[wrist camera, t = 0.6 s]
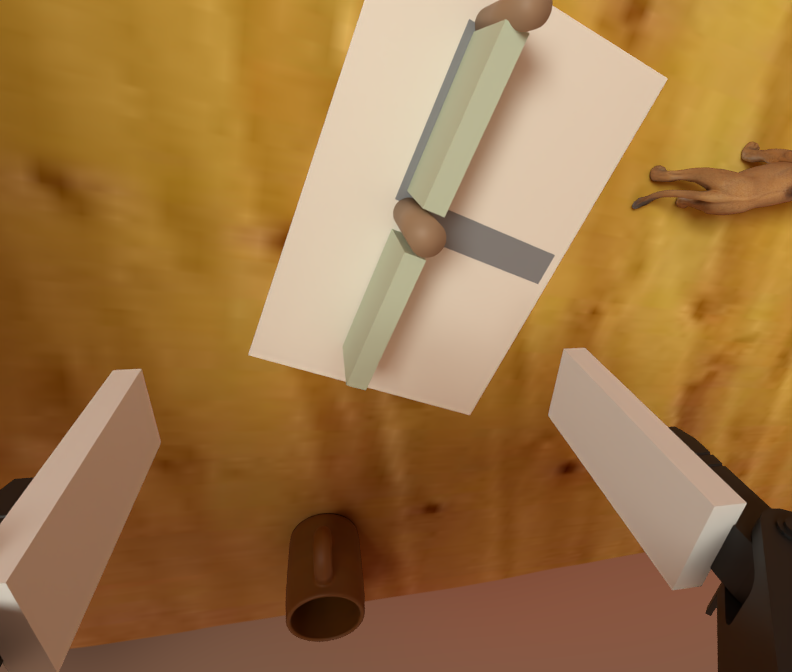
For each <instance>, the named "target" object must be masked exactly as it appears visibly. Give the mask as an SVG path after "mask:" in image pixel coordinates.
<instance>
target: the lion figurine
mask: <svg viewBox="0 0 792 672" xmlns="http://www.w3.org/2000/svg"><path fill="white" fill-rule="evenodd" d="M759 149H760V147H759V146H758V144H757V143H754V142H749V143H748V144H747V145H746V146H745V147H744V149H743V150H742V159H743V160H745V161H747V162H766V163H768V164H765V165H761V166H756V167H753V168H749V169H746V170H744V171H741V172H739V173H736V172H733V171H729V170H725V169H715V168H691V169H685V170H678V171H667V170H666V169H665V167H662V166H655V167H654V168H652V170H651V172H650V178H651V179H652V180H653V181H663V182H673V181H677V180H686V181H690V182H695V183H697V184H699V185H701V186H702V187H704V188H705V189H706V190H707V191H689V190H665V191H659V192H656V193H653V194H651V195H648V196H645V197H641V198H638V200H637V201H635V202H634V203H633V205H632V207H633V208H634V209H637V208H639V207H641V206H643V205H647V204H648V203H650V202H651V201H653V200H655V199H658V198H661V197H678V198H677V200H676V205H677V206H678V207H680V208H686V207H687V206H690V207H693V208H696V209H698V210H702V211H703V212H705V213H707V214H715V215H729V214H735V213H742V212H745V211H748V210H750V209H753V208H758V207H766V206H771V205H775V204H780V203H785V202H789V201H792V151H791V150H786V149H768V150H759Z"/></svg>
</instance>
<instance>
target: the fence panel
mask: <svg viewBox="0 0 792 672" xmlns="http://www.w3.org/2000/svg"><path fill="white" fill-rule="evenodd" d="M425 262H426V259H425V258H424V257H420V256H418V255H416V254H415V253H414V252H413V251H412V249H411V247H410V246H409V244H408V242H407V241H406V239H405V237H404V236H403V234H402V232H399V231H397V230H394V229H392V230H391V232H390V234H389V237H388V239H387V242H386V244H385V246H384V249H383V251H382V253H381V256H380V258H379V261H378V263H377V265H376V268H375V270H374V272H373V275H372V277H371V280H370V282H369V284H368V287H367V289H366V292H365V294H364V296H363V299H362V301H361V303H360V306H359V308H358V311H357V313H356V315H355V318H354V320H353V322H352V325H351V327H350V330H349V332H348V334H347V337H346V339H345V342H344V344H343V346H342V347H343V357H344V368H345V378H346V385H348V386H351V387H355V388H359V389H362V390H366V389H367V387H368V385H369V383H370V381H371V379H372V376H373V374H374V372H375V370H376V368H377V366H378V363H379V361H380V359H381V357H382V355H383V353H384V351H385V348H386V346H387V344H388V342H389V340H390V338H391V335H392V333H393V331H394V329H395V327H396V325H397V322H398V320H399V318H400V316H401V314H402V312H403V310H404V307H405V305H406V303H407V301H408V299H409V297H410V294H411V292H412V290H413V288H414V286H415V284H416V282H417V279H418V277H419V275H420V273H421V271H422V269H423V266H424V264H425Z"/></svg>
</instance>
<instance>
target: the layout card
mask: <svg viewBox="0 0 792 672" xmlns="http://www.w3.org/2000/svg"><path fill="white" fill-rule="evenodd" d="M497 1H499V0H365V1H364V4H363V7H362V10H361V13H360V16H359V19H358V22H357V25H356V28H355V31H354V34H353V37H352V40H351V43H350V46H349V49H348V52H347V55H346V59H345V62H344V65H343V68H342V71H341V74H340V77H339V80H338V83H337V86H336V89H335V92H334V95H333V98H332V101H331V104H330V107H329V110H328V113H327V116H326V119H325V123H324V126H323V129H322V132H321V135H320V138H319V141H318V144H317V147H316V150H315V153H314V156H313V159H312V162H311V165H310V168H309V171H308V174H307V177H306V180H305V183H304V186H303V190H302V193H301V196H300V199H299V202H298V205H297V208H296V211H295V214H294V217H293V220H292V223H291V226H290V229H289V232H288V235H287V238H286V241H285V244H284V247H283V250H282V253H281V257H280V260H279V263H278V266H277V269H276V272H275V275H274V278H273V281H272V284H271V287H270V290H269V293H268V296H267V299H266V302H265V305H264V308H263V311H262V314H261V317H260V320H259V324H258V327H257V330H256V333H255V336H254V339H253V342H252V345H251V348H250V351H249V354H248V355H250V356H253V357H257V358H261V359H264V360H268V361H272V362H275V363H279V364H283V365H286V366H290V367H294V368H297V369H301V370H305V371H309V372H312V373H316V374H320V375H323V376H327V377H331V378H334V379H338V380H342V381H345V382H346V378H345V368H344V357H343V347H342V346H343V344H344V342H345V339H346V337H347V334H348V332H349V330H350V327H351V325H352V322H353V320H354V318H355V315H356V313H357V311H358V308H359V306H360V303H361V301H362V299H363V296H364V294H365V292H366V289H367V287H368V284H369V282H370V280H371V277H372V275H373V272H374V270H375V268H376V265H377V263H378V261H379V258H380V256H381V253H382V251H383V249H384V246H385V244H386V242H387V239H388V237H389V234H390V232H391V230H392V229H394V230H397V231H399V232H401V231H400V229H399V227H398V226H397V224H396V222H395V220H394V218H393V210H394V207H395V205H396V204H397V202H399V201H400V200H402V199H404V198H408V197H410V198H413V197H412V196H411V195H410V194H409V192H408V191H407V190H408V187H409V185H410V182H411V180H412V178H413V175H414V173H415V170H416V168H417V166H418V163H419V161H420V159H421V156H422V154H423V151H424V149H425V147H426V144H427V142H428V139H429V137H430V135H431V132H432V130H433V128H434V125H435V123H436V120H437V118H438V116H439V113H440V111H441V108H442V106H443V104H444V101H445V99H446V97H447V94H448V92H449V89H450V87H451V85H452V82H453V80H454V77H455V75H456V73H457V70H458V68H459V66H460V63H461V61H462V58H463V56H464V54H465V51H466V49H467V46H468V44H469V42H470V39H471V37H472V35H473V32H474V31H475V20H476V17H477V15H478V13H479V12H480V11H481V10H482V9H483V8H485V7H487V6H489V5H491V4H493V3H495V2H497ZM528 33H530V34H529V36H528V38H527V40H526V43H525V45H524V47H523V49H522V51H521V53H520V56H519V58H518V60H517V62H516V64H515V66H514V68H513V71H512V73H511V75H510V77H509V79H508V81H507V84H506V86H505V88H504V90H503V92H502V94H501V97H500V99H499V101H498V103H497V105H496V107H495V110H494V112H493V114H492V116H491V118H490V120H489V123H488V125H487V127H486V129H485V131H484V133H483V136H482V138H481V140H480V142H479V144H478V146H477V148H476V151H475V153H474V155H473V157H472V159H471V161H470V164H469V166H468V168H467V170H466V172H465V174H464V177H463V179H462V181H461V183H460V185H459V187H458V190H457V192H456V194H455V196H454V198H453V200H452V203H451V205H450V207H449V209H448V211H447V213H446V216H445V217H442V216H440V215H438V214H435V213H433V212H430V211H429V213H430V214H431V215H432V216H433V217H434V218H435V219H436V220H437V221H438V222H439V223H440V224H441V226H442V227H443V228H444V230H445V232H446V243H445V246H444V248H443V249H442V251H441V252H440V253H438V254H437V255H435V256H433V257H429V258H425V259H426V262H425V264H424V266H423V269H422V271H421V273H420V275H419V277H418V279H417V282H416V284H415V286H414V288H413V290H412V292H411V294H410V297H409V299H408V301H407V303H406V305H405V307H404V310H403V312H402V314H401V316H400V318H399V320H398V322H397V325H396V327H395V329H394V331H393V333H392V335H391V338H390V340H389V342H388V344H387V346H386V348H385V351H384V353H383V355H382V357H381V359H380V361H379V363H378V366H377V368H376V370H375V372H374V374H373V376H372V379H371V381H370V383H369V385H368V388H371V389H375V390H379V391H382V392H386V393H390V394H393V395H397V396H401V397H404V398H408V399H412V400H415V401H419V402H423V403H426V404H430V405H434V406H438V407H441V408H445V409H449V410H452V411H456V412H460V413H463V414H467V415H470V414H471V412H472V411H473V409H474V407H475V406H476V404H477V402H478V401H479V399H480V397H481V395H482V394H483V392H484V390H485V389H486V387H487V385H488V384H489V382H490V380H491V378H492V377H493V375H494V373H495V372H496V370H497V368H498V367H499V365H500V363H501V361H502V360H503V358H504V356H505V355H506V353H507V351H508V350H509V348H510V346H511V344H512V343H513V341H514V339H515V338H516V336H517V334H518V333H519V331H520V329H521V327H522V326H523V324H524V322H525V321H526V319H527V317H528V316H529V314H530V312H531V310H532V309H533V307H534V305H535V304H536V302H537V300H538V299H539V297H540V295H541V293H542V292H543V290H544V288H545V287H546V285H547V283H548V282H549V280H550V278H551V276H552V275H553V273H554V271H555V270H556V268H557V266H558V265H559V263H560V261H561V259H562V258H563V256H564V254H565V253H566V251H567V249H568V248H569V246H570V244H571V242H572V241H573V239H574V237H575V236H576V234H577V232H578V231H579V229H580V227H581V225H582V224H583V222H584V220H585V219H586V217H587V215H588V214H589V212H590V210H591V208H592V207H593V205H594V203H595V202H596V200H597V198H598V197H599V195H600V193H601V191H602V190H603V188H604V186H605V185H606V183H607V181H608V180H609V178H610V176H611V174H612V173H613V171H614V169H615V168H616V166H617V164H618V163H619V161H620V159H621V157H622V156H623V154H624V152H625V151H626V149H627V147H628V146H629V144H630V142H631V140H632V139H633V137H634V135H635V134H636V132H637V130H638V129H639V127H640V125H641V123H642V122H643V120H644V118H645V117H646V115H647V113H648V112H649V110H650V108H651V106H652V105H653V103H654V101H655V100H656V98H657V96H658V95H659V93H660V91H661V89H662V88H663V86H664V84H665V83H666V81H667V79H668V78H666V77H664V76H663V75H661V74H660V73H658V72H657V71H655V70H653V69H652V68H650V67H649V66H647V65H645V64H644V63H642V62H641V61H639V60H638V59H636V58H634V57H633V56H631V55H630V54H628V53H626V52H625V51H623V50H622V49H620V48H619V47H617V46H615V45H614V44H612V43H611V42H609V41H608V40H606V39H604V38H603V37H601V36H600V35H598V34H596V33H595V32H593V31H592V30H590V29H589V28H587V27H585V26H584V25H582V24H581V23H579V22H577V21H576V20H574V19H573V18H571V17H570V16H568V15H566V14H565V13H563V12H562V11H560V10H559V9H557V8H555V7H554V6H552V11H551V14H550V16H549V18H548V20H547V21H546V23H545V24H544V25H543V26H541V27H540V28H538V29H535V30H531V31H528Z"/></svg>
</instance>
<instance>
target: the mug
mask: <svg viewBox="0 0 792 672" xmlns="http://www.w3.org/2000/svg"><path fill="white" fill-rule="evenodd" d="M364 597H365V596H364V584H363V573H362V563H361V554H360V543H359V536H358V532H357V529H356V527H355V526H354V524H353V523H352V522H351V521H350V520H348V519H347V518H345V517H343V516H340V515H335V514H320V515H316V516H312V517H310V518H307V519H306V520H304V521H302V522H301V523H300V524H299V525H298V526H297V527H296V528H295V529H294V531H293V533H292V535H291V539H290V545H289V559H288V571H287V587H286V624H287V627H288V629H289V630H290V632H291V633H292V634H293V635H295V636H296V637H298V638H301V639H304V640H308V641H317V642H318V641H319V642H320V641H330V640H334V639H338V638H341V637H343V636H346V635H348V634H349V633H351V632H353V631H354V630H355V629H356V628H357V627H358V626H359V625H360V624H361V622H362V621H363V618H364V613H365V607H364Z"/></svg>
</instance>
